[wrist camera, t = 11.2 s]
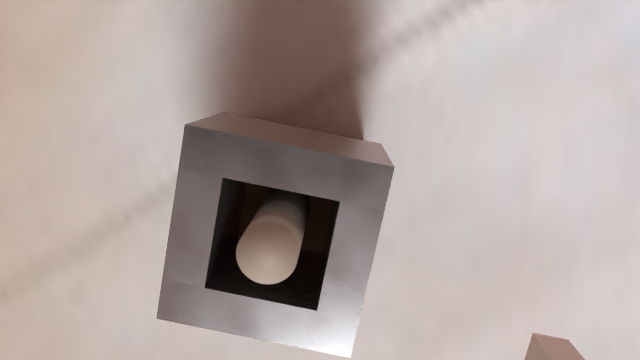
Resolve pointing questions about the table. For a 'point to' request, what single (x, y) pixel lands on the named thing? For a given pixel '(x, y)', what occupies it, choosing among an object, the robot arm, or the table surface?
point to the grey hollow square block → (312, 268)
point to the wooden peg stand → (279, 231)
